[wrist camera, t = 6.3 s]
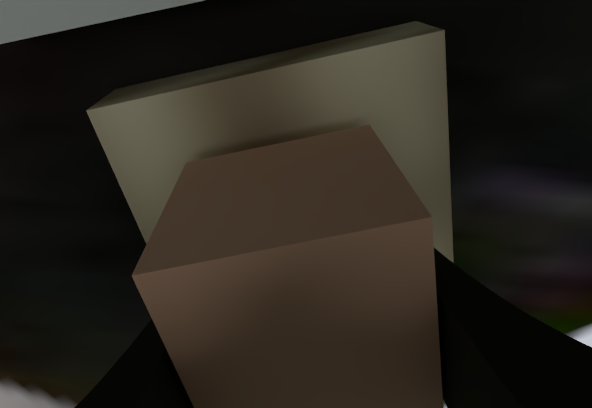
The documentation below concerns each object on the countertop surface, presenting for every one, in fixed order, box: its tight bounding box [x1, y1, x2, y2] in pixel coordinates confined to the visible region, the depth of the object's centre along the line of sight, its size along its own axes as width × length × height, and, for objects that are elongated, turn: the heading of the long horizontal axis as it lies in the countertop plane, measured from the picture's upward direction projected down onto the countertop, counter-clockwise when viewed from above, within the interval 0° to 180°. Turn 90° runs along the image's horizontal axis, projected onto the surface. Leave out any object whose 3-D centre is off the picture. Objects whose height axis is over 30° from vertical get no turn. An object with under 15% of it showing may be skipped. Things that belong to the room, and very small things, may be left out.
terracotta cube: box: [132, 124, 443, 408], centre depth 10 cm, size 5×5×5 cm
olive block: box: [86, 21, 453, 262], centre depth 15 cm, size 10×10×3 cm
